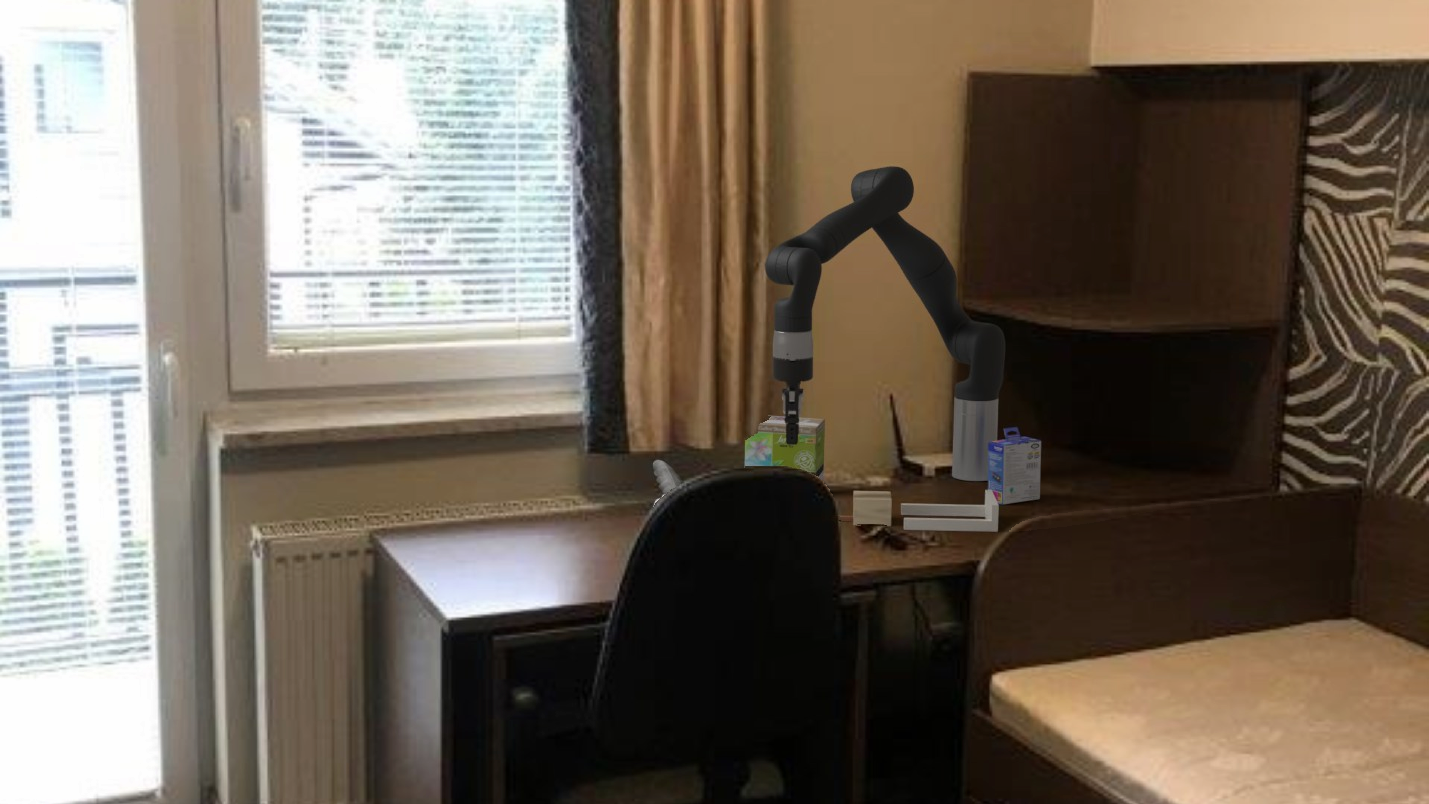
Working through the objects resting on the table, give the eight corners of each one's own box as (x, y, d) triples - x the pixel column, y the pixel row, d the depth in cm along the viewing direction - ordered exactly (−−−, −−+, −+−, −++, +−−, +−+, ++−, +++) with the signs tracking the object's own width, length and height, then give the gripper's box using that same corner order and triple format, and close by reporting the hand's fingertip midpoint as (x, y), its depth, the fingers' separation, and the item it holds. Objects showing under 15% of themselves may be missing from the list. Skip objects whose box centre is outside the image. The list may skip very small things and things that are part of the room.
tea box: (743, 493, 315) (743, 422, 312) (753, 482, 324) (754, 413, 322) (816, 497, 311) (817, 425, 308) (824, 486, 321) (825, 416, 318)
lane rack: (900, 513, 298) (901, 488, 297) (990, 515, 297) (991, 489, 296) (903, 529, 286) (904, 503, 285) (997, 531, 285) (998, 505, 284)
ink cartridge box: (1022, 494, 314) (1025, 424, 312) (1041, 499, 309) (1044, 429, 307) (985, 499, 309) (987, 429, 307) (1003, 505, 305) (1005, 433, 302)
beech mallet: (783, 514, 297) (783, 484, 296) (889, 517, 295) (890, 486, 294) (781, 523, 290) (782, 492, 289) (891, 526, 288) (891, 494, 287)
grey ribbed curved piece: (659, 529, 286) (659, 476, 284) (627, 507, 302) (627, 457, 300) (706, 524, 289) (706, 472, 287) (671, 503, 306) (671, 454, 304)
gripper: (774, 348, 295) (773, 432, 298) (771, 359, 281) (771, 447, 284) (813, 349, 295) (812, 432, 297) (812, 360, 281) (812, 447, 283)
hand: (792, 439), depth 291 cm, fingers open, 8 cm apart
